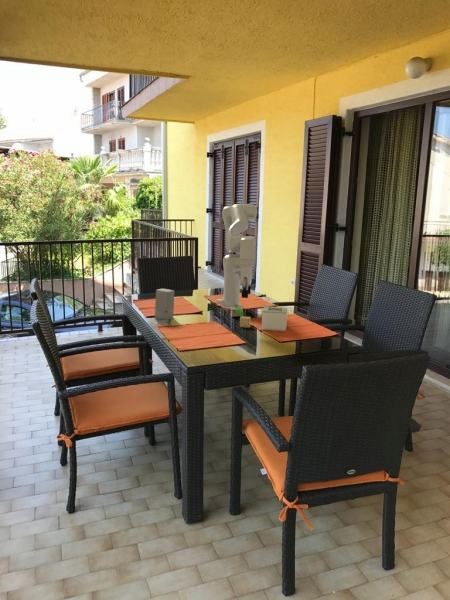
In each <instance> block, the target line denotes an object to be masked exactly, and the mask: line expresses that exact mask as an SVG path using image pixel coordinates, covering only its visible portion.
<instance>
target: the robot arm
mask: <svg viewBox="0 0 450 600" xmlns="http://www.w3.org/2000/svg"><path fill="white" fill-rule="evenodd" d="M221 216H222V217H221V218H222V221H223V224H224V228H225V249H226V252H229V253H235V254H227V255H225V256H223V259H222V265H223V286H224V287H223V298H222V299H216V303H218V304H220V308H223V309H228V310H231V307H235V305H236V304H238V307H242V306H243V305H242V304H241V303H240V299H241V298H242V299H248V298H249V295H251V293H252V292H251V290H252V288H251V287H252V285H251V284H252V280H253V267H255V264H256V263H255V261H256V260H255V259H256V245H257V243H256V239H255V237H254V236H251V235H241V233H244V232H245V231H247V229H248V228H249V226H250V222H252V221H255V220H256V219H257V216H258V210H257V207H256V205H255V204H252V203H236V204H234V205H227V206H224V207H223V209H222V211H221ZM236 253H239V254H236ZM239 271H240V275H239V273H237V272H239ZM240 291H241V292H240ZM240 293H241V294H240ZM240 296H241V298H240Z"/></svg>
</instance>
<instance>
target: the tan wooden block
mask: <svg viewBox="0 0 450 600" xmlns="http://www.w3.org/2000/svg"><path fill="white" fill-rule="evenodd" d="M239 317H240V318H239V328H249V329H250V327H251V316H244V315H243V316H239Z"/></svg>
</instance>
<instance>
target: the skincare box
mask: <svg viewBox="0 0 450 600" xmlns="http://www.w3.org/2000/svg"><path fill="white" fill-rule="evenodd" d="M174 309H175V290H174V289H168V288H159V289H156V290H155V305H154V318H155V319H158V320H164V321H168V320H171V319H174Z"/></svg>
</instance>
